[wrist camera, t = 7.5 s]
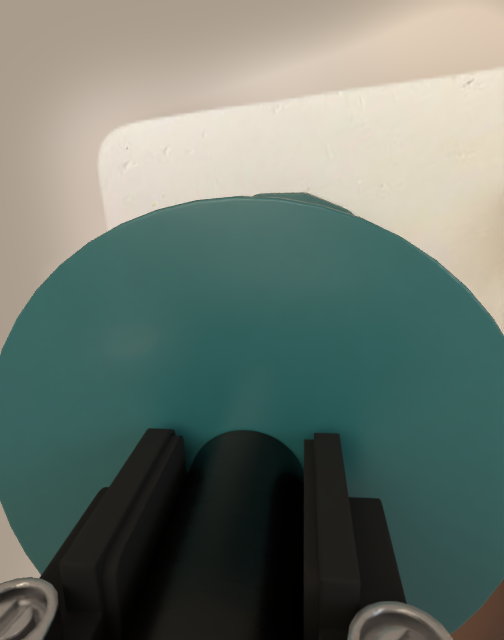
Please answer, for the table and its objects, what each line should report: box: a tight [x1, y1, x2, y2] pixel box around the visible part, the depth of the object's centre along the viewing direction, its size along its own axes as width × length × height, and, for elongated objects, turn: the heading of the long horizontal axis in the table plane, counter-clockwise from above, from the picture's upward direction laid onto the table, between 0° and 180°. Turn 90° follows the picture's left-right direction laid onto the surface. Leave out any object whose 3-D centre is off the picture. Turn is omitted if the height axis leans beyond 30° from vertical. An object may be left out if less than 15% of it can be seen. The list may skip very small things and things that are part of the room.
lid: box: [0, 196, 504, 640], centre depth 8 cm, size 12×12×7 cm
